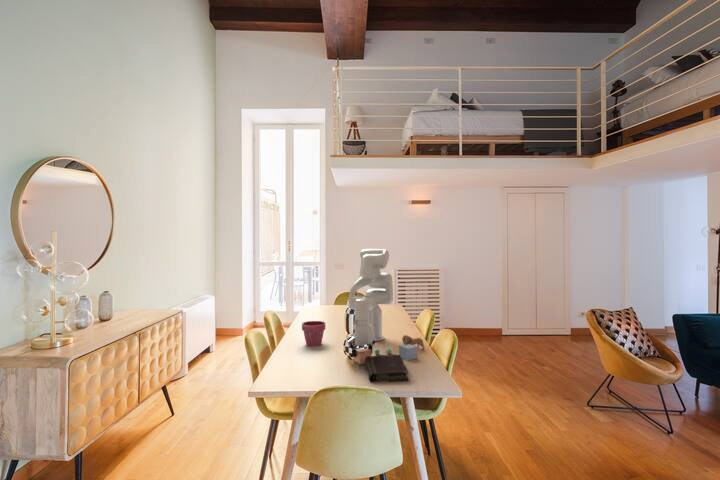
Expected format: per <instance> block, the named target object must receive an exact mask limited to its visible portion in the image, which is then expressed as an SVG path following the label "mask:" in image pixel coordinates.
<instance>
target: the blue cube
mask: <svg viewBox="0 0 720 480" xmlns="http://www.w3.org/2000/svg"><path fill="white" fill-rule="evenodd" d="M418 354H419V353H418V349H417V345H411V344H406V345H405V344H402V345H399V346H398V355H400V356H401V358H402V360H405V361H411V360H415V359H418Z"/></svg>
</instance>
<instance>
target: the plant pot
mask: <svg viewBox="0 0 720 480" xmlns="http://www.w3.org/2000/svg"><path fill="white" fill-rule="evenodd" d="M301 330H302V331H303V335H304V339H305V343H306V346H310V347H317V346H321V345H322V344H323V343H322V342H323V337H324V332H325V330H326V322H325V321H321V320H311V321H309V320H308V321H304V322H302V324H301Z"/></svg>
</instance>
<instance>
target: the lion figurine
mask: <svg viewBox="0 0 720 480" xmlns="http://www.w3.org/2000/svg"><path fill="white" fill-rule="evenodd" d="M401 339H402V340H401V341H402V343H403V345H406V344H411V345H413V346H416V347H417V350H418V349H419V348H420V347H421V350H422V351H424V350H425V348H426V347H425V344H424V341H423V339H422V338H421V337H416V338H413V337H411V336H409V335H407V334H405V335H403V336H402V338H401Z"/></svg>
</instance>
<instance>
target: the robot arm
mask: <svg viewBox="0 0 720 480" xmlns="http://www.w3.org/2000/svg"><path fill="white" fill-rule="evenodd" d="M359 256H360V266H359V267H360V269H359V278H358V279H357V280H355V282H354V283H353V284H352V286H351V287H350V290H349V295H348V296H349V297H348V307H349V309H350V310H353V311H354V320H353V321H352V324H353V329H352V337H351V338H350V339H349V340H346V343H347V345H348V347H349V348H350V349H351V356H352V358H353V357H356V348H357V347H362V346H366V345H367V348H368V349H370V350H371V355H373V347H374V345H375V343H376V342H378V341H383V340H385V336H384V335H383V310H382V309H381V307H380V305H391V304H392V303H393V302H394V287H393V286H394V285H393V284H394V283H393V276H392V274H391V273H389V272H381V270H384V269H386V267H387V266H388V262H389V260H390V253H389V251H388V250H387V249H386V248H364V249H362V250H360V252H359ZM366 286H368V287H369V289H367V290H366V291H365V295H356V293H357V292H358V291H359V290H360V289H361V288H364V287H366Z"/></svg>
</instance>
